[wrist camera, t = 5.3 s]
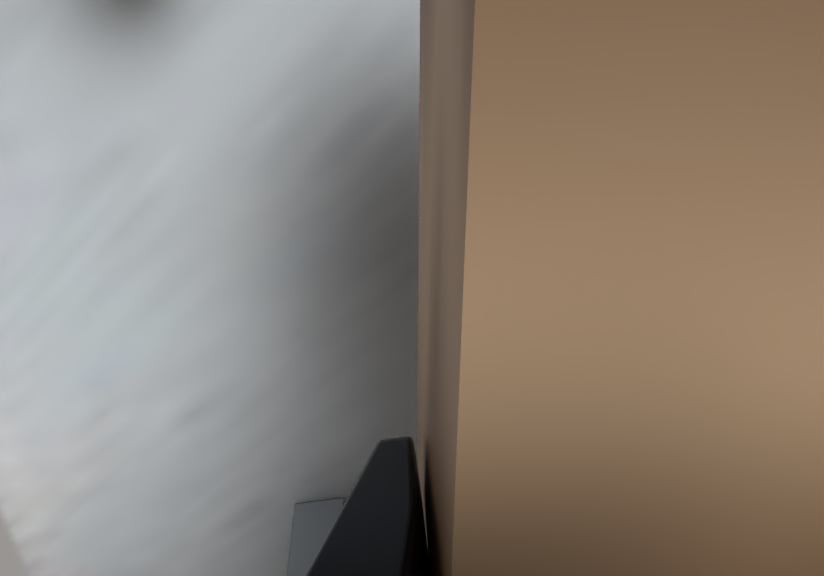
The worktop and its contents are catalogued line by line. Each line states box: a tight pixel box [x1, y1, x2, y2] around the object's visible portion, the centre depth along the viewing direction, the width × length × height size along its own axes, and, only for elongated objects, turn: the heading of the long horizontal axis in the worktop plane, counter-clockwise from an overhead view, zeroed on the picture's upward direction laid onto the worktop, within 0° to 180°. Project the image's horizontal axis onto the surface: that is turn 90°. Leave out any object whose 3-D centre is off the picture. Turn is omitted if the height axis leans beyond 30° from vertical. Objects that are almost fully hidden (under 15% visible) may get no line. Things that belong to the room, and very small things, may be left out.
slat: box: [417, 0, 824, 576], centre depth 8 cm, size 16×4×4 cm, turn 0°
